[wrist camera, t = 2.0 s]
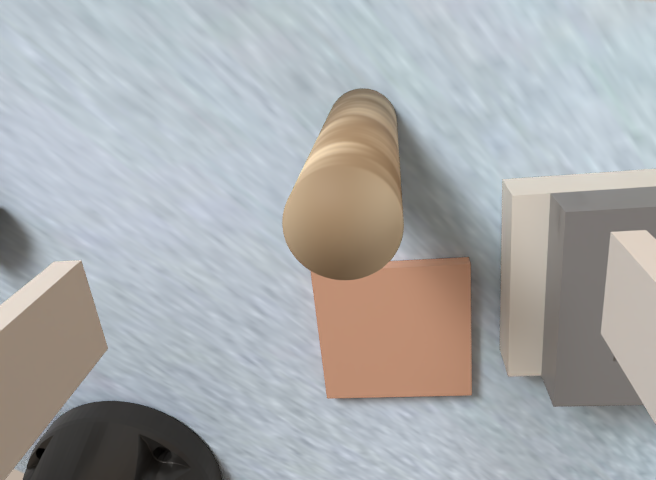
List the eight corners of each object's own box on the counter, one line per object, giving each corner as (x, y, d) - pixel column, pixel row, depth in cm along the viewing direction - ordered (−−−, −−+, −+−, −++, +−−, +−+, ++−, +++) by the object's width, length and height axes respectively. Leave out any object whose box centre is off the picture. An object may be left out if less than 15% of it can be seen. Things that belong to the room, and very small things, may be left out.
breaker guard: (499, 349, 39) (517, 407, 33) (502, 179, 34) (523, 214, 29) (757, 340, 36) (821, 401, 31) (797, 158, 32) (880, 192, 26)
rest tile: (328, 389, 41) (327, 398, 40) (312, 265, 37) (310, 272, 36) (469, 386, 40) (471, 395, 39) (468, 257, 36) (470, 263, 35)
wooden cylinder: (332, 159, 34) (290, 283, 20) (325, 91, 33) (274, 172, 18) (398, 154, 34) (406, 277, 19) (394, 85, 32) (399, 163, 18)
